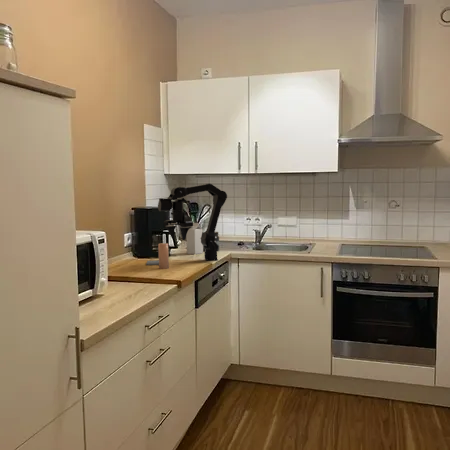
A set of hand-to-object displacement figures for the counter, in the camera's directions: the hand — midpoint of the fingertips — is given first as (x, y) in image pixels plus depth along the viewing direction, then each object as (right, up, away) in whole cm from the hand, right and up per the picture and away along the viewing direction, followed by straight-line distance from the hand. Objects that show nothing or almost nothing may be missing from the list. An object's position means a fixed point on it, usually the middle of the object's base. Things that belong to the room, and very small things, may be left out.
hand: (178, 239), depth 253 cm
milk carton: (+7, -10, +36) cm, 38 cm away
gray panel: (-12, -13, +1) cm, 17 cm away
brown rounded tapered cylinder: (-6, -14, -15) cm, 21 cm away
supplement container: (+16, -9, +47) cm, 50 cm away
